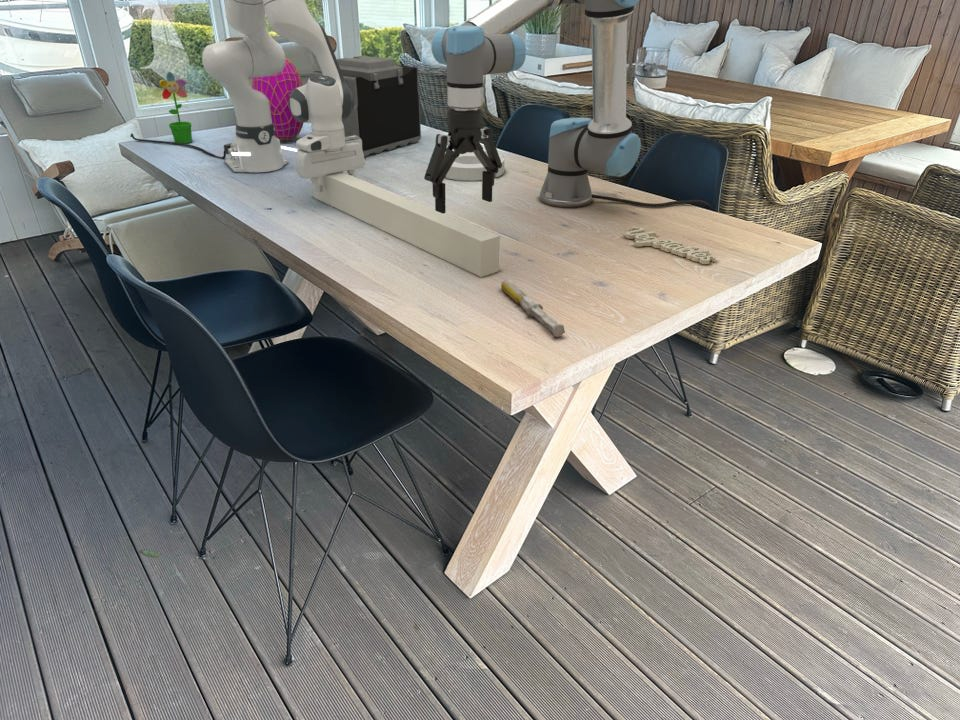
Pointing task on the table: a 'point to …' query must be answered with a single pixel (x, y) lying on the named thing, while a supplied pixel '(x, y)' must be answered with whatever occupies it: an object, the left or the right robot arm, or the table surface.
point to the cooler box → (381, 102)
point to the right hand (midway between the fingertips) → (464, 206)
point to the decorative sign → (669, 245)
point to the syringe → (532, 308)
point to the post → (413, 222)
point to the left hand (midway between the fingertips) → (334, 188)
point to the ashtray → (470, 168)
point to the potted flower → (178, 129)
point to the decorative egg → (281, 99)
